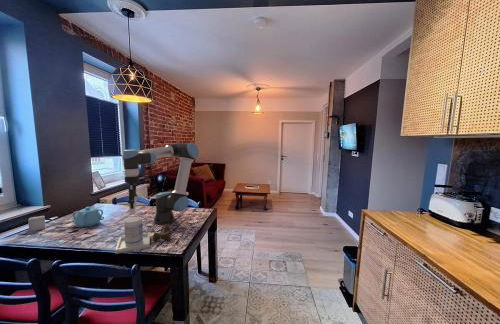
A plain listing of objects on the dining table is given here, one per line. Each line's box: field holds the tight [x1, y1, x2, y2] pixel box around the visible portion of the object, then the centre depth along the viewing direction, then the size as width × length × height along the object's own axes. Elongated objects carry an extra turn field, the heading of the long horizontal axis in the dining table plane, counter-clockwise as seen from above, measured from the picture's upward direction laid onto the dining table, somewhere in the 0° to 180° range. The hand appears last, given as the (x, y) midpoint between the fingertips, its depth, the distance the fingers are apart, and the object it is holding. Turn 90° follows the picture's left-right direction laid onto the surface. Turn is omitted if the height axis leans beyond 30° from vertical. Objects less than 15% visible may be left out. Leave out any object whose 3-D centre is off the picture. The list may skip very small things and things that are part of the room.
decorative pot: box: [72, 206, 105, 228], centre depth 151 cm, size 16×16×14 cm
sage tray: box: [114, 232, 151, 255], centre depth 124 cm, size 17×17×2 cm
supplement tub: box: [123, 216, 144, 246], centre depth 123 cm, size 10×10×15 cm
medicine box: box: [27, 215, 46, 232], centre depth 142 cm, size 8×4×9 cm, turn 134°
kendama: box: [152, 224, 171, 242], centre depth 133 cm, size 6×10×20 cm
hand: (133, 210), depth 122 cm, fingers open, 13 cm apart
